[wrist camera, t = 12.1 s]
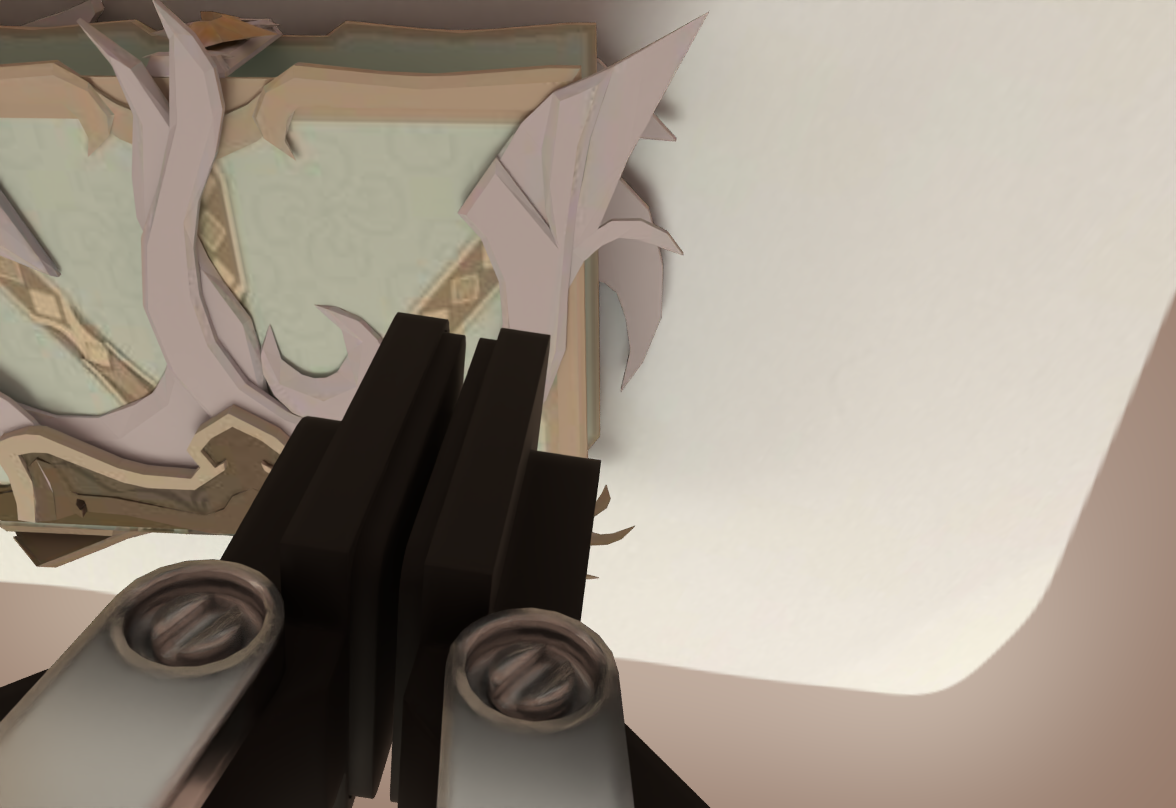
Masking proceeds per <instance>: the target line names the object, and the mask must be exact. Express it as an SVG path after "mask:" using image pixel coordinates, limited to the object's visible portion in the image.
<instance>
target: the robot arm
mask: <svg viewBox="0 0 1176 808" xmlns="http://www.w3.org/2000/svg"><path fill="white" fill-rule="evenodd" d="M550 339H551V335H548V334H541V333H535V332H528V331H521V330H515V329H508V328H501V329H500V332H499V335H498V338H497V340H494V339H487V338H480V339H479V341H478V344H477V347H476V349H475V352H474V355H473V358H472V361H471V364H470V366H469V369H468V372H467V375H466V378H465V381H464V383H463V380H464V366H465V353H466V336H465V335H461V334H454V333H450V328H449V321H448V319H442V318H436V317H429V316H423V315H416V314H409V313H403V312H397V314H396V315H395V317H394V319H393V321H392V323H391V324H390V326H389V328H388V330H387V332H386V334H385V336H384V338H383V340H382V342H381V344H380V346H379V348H378V350H377V352H376V354H375V356H374V358H373V360H372V362H371V364H370V366H369V368H368V370H367V372H366V374H365V376H364V378H363V380H362V382H361V383H360V385H359V387H358V389H357V391H356V393H355V395H354V397H353V399H352V401H351V403H350V405H349V407H348V409H347V411H346V413H345V415H344V417H343V419H342V421H339V420H333V419H326V418H319V417H313V416H306V417H303V418H302V419H301V420H300V422H299V423H298V424H297V426H296V427H295V429H294V431H293V433H292V434H291V436H290V438H289V440H288V441H287V443H286V445H285V447H284V448H283V450H282V452H281V454H280V455H279V457H278V459H277V461H276V462H275V464H274V466H273V468H272V469H271V471H270V473H269V475H268V477H267V478H266V480H265V482H264V484H263V485H262V487H261V489H260V491H259V492H258V494H257V496H256V498H255V499H254V501H253V503H252V505H251V506H250V508H249V510H248V512H247V513H246V515H245V517H244V519H243V520H242V522H241V524H240V526H239V527H238V529H237V531H236V533H235V534H234V536H233V538H232V540H231V542H230V543H229V545H228V547H227V549H226V550H225V552H224V554H223V556H222V557H221V559H220V560H215V559H209V560H192V561H184V562H180V563H176V564H172V565H168V566H164V567H160V568H158V569H156V570H154V571H152V572H150V573H148V574H146V575H144V576H142V577H139V578H137V579H136V580H134V581H133V582H132V583H131V584H129V585H128V586H127V587H126V588H125V589H123V590H122V591H121V592H120V593H119V594H117V595H116V596H115V598H114V599H113V600H112V601H111V602H110V603H109V604H108V605H107V606H106V607H105V608H104V609H103V611H102V612H101V613H100V614H99V615H98V616H97V617H96V618H95V619H94V621H92V623H91V624H90V625H89V626H88V627H87V628H86V629H85V630H84V631H83V632H82V634H81V635H80V636H79V637H78V638H77V639H76V640H75V641H74V642H73V643H72V645H71V646H70V647H69V648H68V649H67V650H66V651H65V652H64V653H63V654H62V655H61V656H60V658H59V659H58V660H57V661H56V662H55V663H54V664H53V665H52V666H51V667H50V668H49V669H47V670H44V671H42V672H39V673H36V674H34V675H31V676H29V677H26V678H23V679H21V680H18V681H16V682H13V683H11V684H8V685H6V686H3V687H0V808H352V806H353V802H354V799H355V796H358V797H365V798H371V799H373V798H374V797H375V795H376V793H377V790H378V787H379V784H380V781H381V777H382V774H383V770H384V767H385V764H386V761H387V757H388V754H389V750H390V747H391V744H392V761H391V784H390V800H391V801H392V802H397V803H398V808H710V807H709V806H708V805H707V804H706V803H705V802H704V801H703V800H702V799H701V798H700V797H699V796H698V795H697V794H696V793H695V792H694V791H693V790H692V789H691V788H690V787H689V786H688V785H687V784H686V783H685V782H684V781H683V780H682V779H681V778H680V777H679V776H678V775H677V774H676V773H675V772H674V771H673V770H672V769H671V768H670V767H669V766H668V765H667V764H666V763H665V762H663V760H661V758H659V757H658V756H657V755H656V754H655V753H654V752H653V751H652V750H651V749H650V748H649V747H648V746H647V745H646V744H645V743H644V742H643V741H642V740H641V739H640V738H639V737H638V736H637V735H636V734H635V733H634V732H633V731H632V730H631V729H630V728H629V727H628V726H627V725H626V724H625V723H624V715H623V707H622V698H621V690H620V682H619V672H618V669H617V666H616V663H615V660H614V656H613V653H612V651H611V650H610V649H609V647H608V646H607V645H606V644H605V642H604V641H603V640H602V638H601V637H600V636H599V635H598V634H597V633H596V632H594V631H593V630H591V629H590V628H589V627H587V626H586V625H584V624H583V623H582V622H580V621H581V613H582V605H583V598H584V590H585V582H586V575H587V567H588V559H589V551H590V544H591V536H592V528H593V520H594V513H595V505H596V497H597V489H598V482H599V474H600V466H601V460H596V459H589V458H582V457H576V456H569V455H563V454H556V453H550V452H543V451H537V448H538V440H539V432H540V424H541V415H542V407H543V399H544V391H545V383H546V375H547V367H548V358H549V350H550Z"/></svg>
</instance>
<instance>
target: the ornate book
mask: <svg viewBox="0 0 1176 808" xmlns="http://www.w3.org/2000/svg"><path fill="white" fill-rule="evenodd" d="M152 1H153V4H154V6H155V8H156V11H157V13H158V15H159V18H160V20H161V22H162V25H163V27H164V29H163V30H159V31H156V30H154V29H152V28H151V27H149V26H147V25H145V24H143V23H142V22H140V21H138V20H136V19H133V20H121V21H110V22H99V23H95V22H96V21H97V19H98V18H99V16H100V15H101V13H102V12H103V11H104V9H105V8H104V6H103V3H102V1H101V0H87V1H85V2H83V3H81V4H79V5H77V6H75V7H73V8H71V9H69V10H66V11H63V12H60V13H57V14H54V15H51V16H48V17H45V18H42V19H39V20H36V21H33V22H30V23H27V24H24V25H21V26H0V520H1V521H0V527H1V528H3V529H4V530H6V531H14V532H16V535H17V536H15V537H14V539H15V541H16V542H17V543H18V544H19V546H20V547H21V548H22V549H23V550H24V552H25V553H26V554H27V555H28V557H29V558H30V559H31V560H32V561H33V563H34V564H35V565H36V566H38V567H58V566H61V565H63V564H66V563H68V562H71V561H74V560H76V559H79V558H81V557H84V556H86V555H89V554H91V553H94V552H96V551H99V550H102V549H104V548H106V547H109V546H111V545H114V544H116V543H119V542H121V541H123V540H126V539H128V538H132V537H136V536H140V535H144V534H148V533H151V532H157V533H179V534H203V535H228V536H234V534H235V533H236V531H237V529H238V527H239V526H240V524H241V522H242V520H243V519H244V517H245V515H246V513H247V512H248V510H249V508H250V506H251V505H252V503H253V501H254V499H255V498H256V496H257V494H258V492H259V491H260V489H261V487H262V485H263V484H264V482H265V480H266V478H267V477H268V475H269V473H270V471H271V469H272V468H273V466H274V464H275V462H276V461H277V459H278V457H279V455H280V454H281V452H282V450H283V448H284V447H285V445H286V443H287V441H288V440H289V438H290V436H291V434H292V433H293V431H294V429H295V427H296V426H297V424H298V423H299V422H300V420H301V419H302V418H303V417H306V416H313V417H319V418H326V419H333V420H339V421H342V419H343V417H344V415H345V413H346V411H347V409H348V407H349V405H350V403H351V401H352V399H353V397H354V395H355V393H356V391H357V389H358V387H359V385H360V383H361V382H362V380H363V378H364V376H365V374H366V372H367V370H368V368H369V366H370V364H371V362H372V360H373V358H374V356H375V354H376V352H377V350H378V348H379V346H380V344H381V342H382V340H383V338H384V336H385V334H386V332H387V330H388V328H389V326H390V324H391V323H392V321H393V319H394V317H395V315H396V314H397V312H403V313H409V314H416V315H423V316H429V317H436V318H442V319H448V321H449V328H450V333H454V334H461V335H465V336H466V353H465V366H464V380H463V383H464V381H465V378H466V375H467V372H468V369H469V366H470V364H471V361H472V358H473V355H474V352H475V349H476V347H477V344H478V341H479V339H480V338H487V339H494V340H497V338H498V335H499V332H500V329H501V328H508V329H515V330H521V331H528V332H535V333H541V334H548V335H551V339H550V350H549V358H548V367H547V375H546V383H545V391H544V399H543V407H542V415H541V424H540V432H539V440H538V448H537V451H543V452H550V453H556V454H563V455H569V456H576V457H582V458H588V450H589V448H590V447H591V446H592V445H593V444H594V443H595V441H596V440H597V439H598V438H599V436H600V366H599V282H604V283H605V284H606V285H608V286H609V287H610V288H611V289H612V290H614V291H615V292H616V293H617V295H618V298H619V301H620V304H621V306H622V309H623V312H624V315H625V317H626V324H627V331H628V338H629V346H630V352H629V356H628V360H627V365H626V369H625V373H624V377H623V382H622V386H621V391H622V390H623V388H624V387H625V386H626V384H627V383H628V382H629V380H630V379H631V378H632V376H633V375H634V374H635V372H636V371H637V369H638V368H639V367H640V365H641V364H642V363H643V361H644V358H645V356H646V354H647V351H648V349H649V346H650V344H651V342H652V339H653V337H654V334H655V332H656V330H657V327H658V325H659V323H660V320H661V318H662V285H663V261H662V257H661V253H660V249H659V247H661V248H663V249H666V250H669V251H672V252H675V253H678V254H680V255H683V251H682V250H681V249H680V247H679V246H678V245H677V243H676V242H675V241H674V239H673V238H672V237H671V235H670V234H669V232H668V231H667V230H665V229H663V228H661V227H658V226H656V225H654V224H653V221H652V217H651V213H650V209H649V206H648V205H647V204H646V203H645V202H644V201H643V200H642V199H641V198H640V197H639V196H638V195H637V194H636V193H635V191H634V190H633V189H632V188H631V187H630V186H629V185H628V184H627V183H626V182H625V181H624V180H623V179H622V178H621V174H622V172H623V170H624V168H625V165H626V163H627V161H628V158H629V156H630V154H631V153H632V151H633V149H634V147H635V145H636V143H637V142H638V140H639V138H644V139H655V140H665V141H676V137H675V136H674V135H673V134H672V133H671V131H670V130H669V129H668V128H667V127H666V126H665V125H664V124H663V123H662V121H661V120H660V119H659V118H658V117H657V116H656V115H655V114H654V111H655V109H656V107H657V105H658V104H659V102H660V100H661V98H662V96H663V94H664V93H665V91H666V89H667V87H668V85H669V84H670V82H671V80H672V78H673V76H674V74H675V73H676V71H677V69H678V67H679V65H680V64H681V62H682V60H683V58H684V56H685V55H686V53H687V51H688V49H689V47H690V45H691V44H692V42H693V40H694V38H695V36H696V35H697V33H698V31H699V29H700V27H701V25H702V24H703V22H704V20H705V18H706V16H707V15H708V13H709V12H707V13H706V14H704V15H702V16H700V17H698V18H697V19H695V20H693V21H691V22H689V23H688V24H686V25H684V26H682V27H680V28H678V29H677V30H675V31H673V32H671V33H669V34H668V35H666V36H664V37H662V38H660V39H659V40H657V41H655V42H653V43H651V44H650V45H648V46H646V47H644V48H642V49H640V50H639V51H637V52H635V53H633V54H631V55H629V56H627V57H626V58H624V59H622V60H620V61H618V62H616V63H614V64H613V65H611V66H609V67H607V66H606V65H605V64H604V63H603V62H602V61H601V60H600V59H599V58H597V37H596V23H557V24H545V25H533V26H522V27H510V28H498V29H480V30H443V29H425V28H414V27H404V26H394V25H384V24H375V23H365V22H355V21H345V22H344V23H342V24H341V25H340V26H338V27H337V28H335V29H334V30H333V31H331V32H330V33H328V34H327V35H326V36H303V35H283V34H282V33H281V31H280V30H279V29H278V28H277V27H276V26H279V24H275V23H273V22H272V20H271V19H240V17H235V16H231V15H226V14H221V13H217V12H211V11H200V13H201V19H202V20H201V21H195V22H189V23H186V24H185V23H184V22H183V21H182V20H181V19H180V18H178V17H177V16H176V15H175V14H174V13H173V12H172V11H171V10H170V9H169V8H167V7H166V6H165V5H164V4H163V3H162V2H161V1H160V0H152ZM610 499H611V498H610V495H609V492H608V488H607V485H606V486H605V488H604V490H603V492H602V494H601V495H600V497H599V498H598V500H597V501H596V505H595V513H594V516H596V515H597V514H599V513H600V512H602V511H603V510H605V509H606V508H607V506H608V504H609V502H610ZM634 527H635V526H633V527H630V528H627V529H624V530H622V531H619V532H616V533H612V534H601V535H600V534H597V533H593V532H592V536H591V544H590V546H591V545H608V544H610V543H613V542H616V541H618V540H621V539H622V538H623V537H624V536H625V535H626V534H628V533H629V532H630V531H631V530H632V529H633V528H634ZM595 578H599V577H595V576H591V575H586V579H595Z"/></svg>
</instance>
